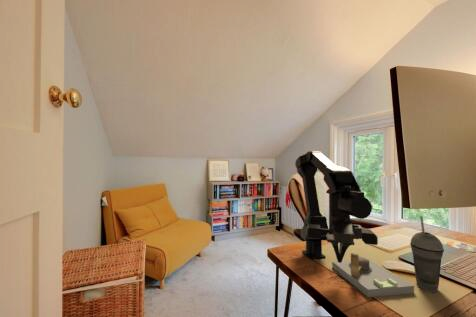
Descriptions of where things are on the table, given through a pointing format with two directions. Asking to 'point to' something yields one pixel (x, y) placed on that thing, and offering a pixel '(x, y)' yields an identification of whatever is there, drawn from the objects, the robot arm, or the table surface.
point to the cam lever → (358, 264)
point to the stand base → (374, 280)
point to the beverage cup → (427, 259)
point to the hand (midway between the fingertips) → (339, 262)
